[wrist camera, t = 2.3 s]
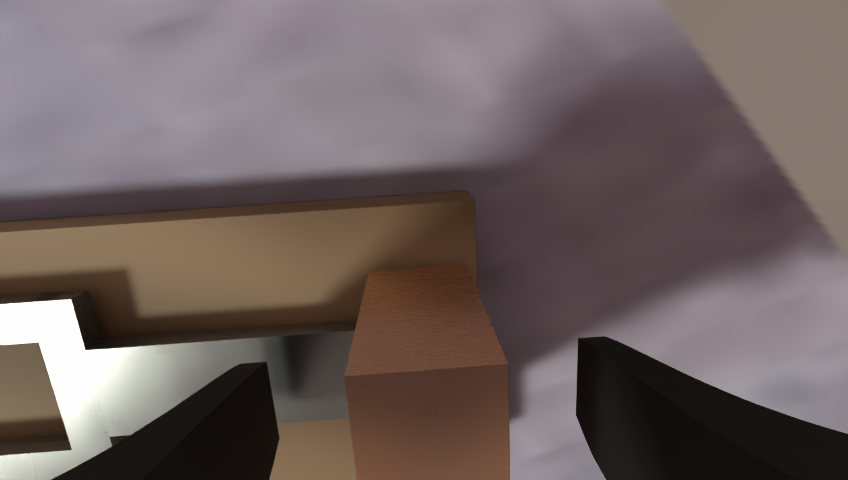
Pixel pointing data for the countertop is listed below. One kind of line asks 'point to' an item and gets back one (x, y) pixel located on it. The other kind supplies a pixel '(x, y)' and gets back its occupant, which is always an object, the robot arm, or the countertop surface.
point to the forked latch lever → (290, 377)
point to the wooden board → (223, 287)
